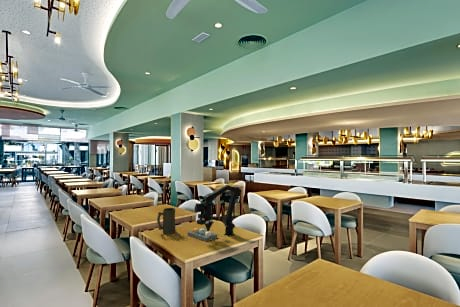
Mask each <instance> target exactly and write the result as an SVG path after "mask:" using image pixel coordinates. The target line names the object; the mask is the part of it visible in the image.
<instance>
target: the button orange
mask: <svg viewBox="0 0 460 307" xmlns="http://www.w3.org/2000/svg"><path fill="white" fill-rule="evenodd" d="M199 229H201V228H199V227H195V228H194V227H193V230H194V232H195V233H198V232H199Z"/></svg>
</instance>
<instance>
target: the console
mask: <svg viewBox="0 0 460 307" xmlns="http://www.w3.org/2000/svg"><path fill="white" fill-rule="evenodd" d="M205 232H209V231H207V230H205ZM187 236H189V237H192V238H195V239H197V240H200V241H203V242H208V241H212V240H215V239H217V238H218V234H216V233H213V232H211V236H209V237H207V236H205V234H203V235H201V234H199V232H198V233H195V232H194V229H193V230H191V231H187Z"/></svg>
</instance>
